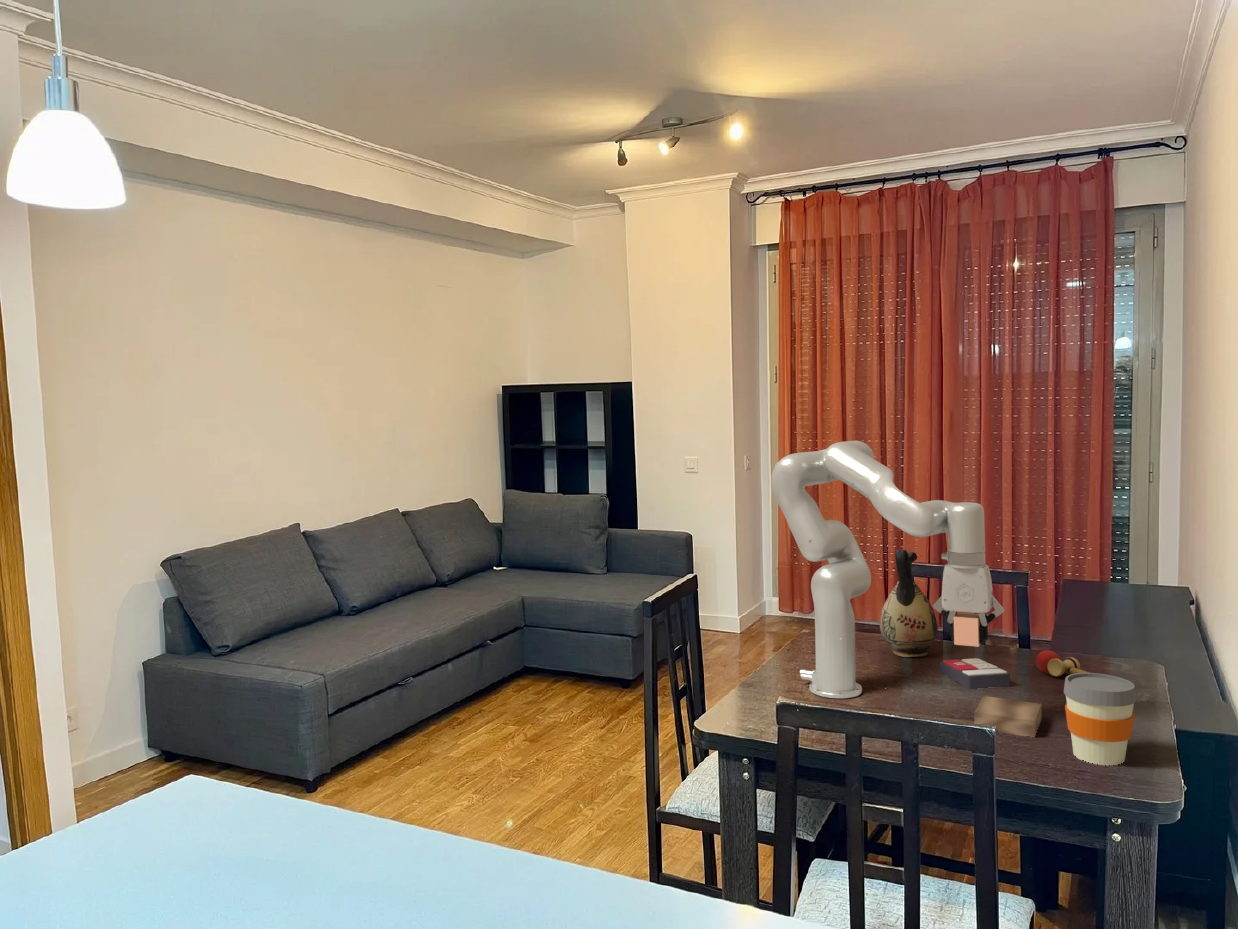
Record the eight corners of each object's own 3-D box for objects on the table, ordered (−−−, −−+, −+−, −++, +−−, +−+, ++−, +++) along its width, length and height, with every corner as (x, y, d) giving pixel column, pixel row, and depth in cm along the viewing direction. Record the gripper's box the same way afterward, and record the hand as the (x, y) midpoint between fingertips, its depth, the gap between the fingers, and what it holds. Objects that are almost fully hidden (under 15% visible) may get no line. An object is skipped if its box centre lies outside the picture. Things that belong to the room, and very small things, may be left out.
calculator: (978, 656, 234) (1010, 670, 219) (979, 673, 234) (1011, 688, 219) (939, 659, 233) (968, 673, 218) (939, 675, 233) (968, 690, 218)
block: (954, 644, 195) (953, 617, 194) (959, 639, 199) (958, 612, 199) (978, 646, 192) (977, 619, 192) (982, 641, 196) (982, 614, 196)
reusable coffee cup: (1071, 740, 185) (1072, 669, 184) (1140, 753, 177) (1141, 679, 176) (1056, 759, 175) (1056, 684, 174) (1128, 775, 167) (1129, 696, 166)
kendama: (1113, 690, 219) (1048, 663, 235) (1114, 667, 217) (1049, 641, 233) (1092, 701, 216) (1028, 672, 231) (1093, 678, 214) (1028, 650, 230)
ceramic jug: (887, 643, 261) (887, 542, 259) (942, 650, 253) (942, 545, 251) (871, 658, 246) (871, 551, 244) (929, 665, 238) (929, 554, 236)
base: (974, 730, 193) (974, 712, 192) (983, 713, 203) (983, 695, 203) (1035, 739, 186) (1035, 721, 186) (1041, 721, 197) (1041, 704, 196)
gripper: (922, 560, 196) (924, 642, 197) (1005, 563, 187) (1007, 649, 188) (930, 555, 202) (932, 634, 203) (1011, 558, 193) (1013, 641, 194)
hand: (968, 640), depth 196 cm, fingers closed on block, 5 cm apart
